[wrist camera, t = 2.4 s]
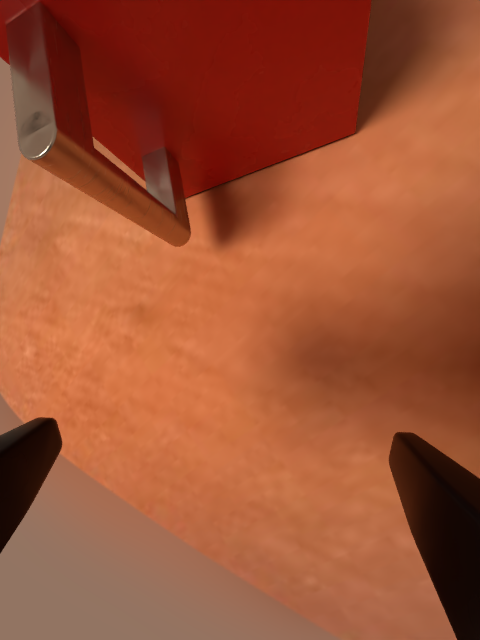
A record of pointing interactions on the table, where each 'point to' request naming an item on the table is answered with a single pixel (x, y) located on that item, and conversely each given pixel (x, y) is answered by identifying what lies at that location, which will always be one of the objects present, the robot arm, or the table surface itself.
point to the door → (179, 92)
